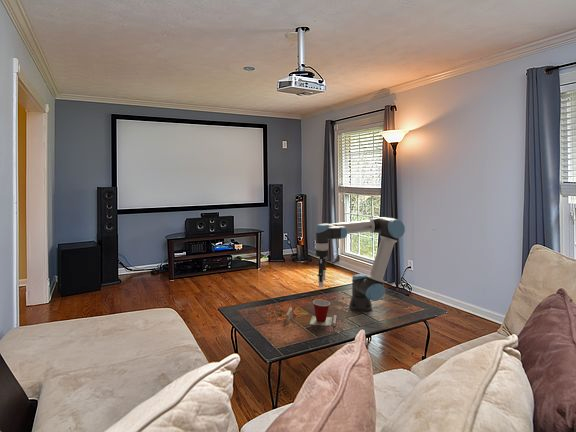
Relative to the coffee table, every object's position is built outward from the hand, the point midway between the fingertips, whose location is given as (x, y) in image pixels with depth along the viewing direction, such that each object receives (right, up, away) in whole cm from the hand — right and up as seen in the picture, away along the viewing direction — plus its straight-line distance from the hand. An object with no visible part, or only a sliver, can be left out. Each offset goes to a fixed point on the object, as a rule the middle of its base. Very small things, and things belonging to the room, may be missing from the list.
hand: (322, 283), depth 233 cm
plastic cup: (0, -24, +3) cm, 24 cm away
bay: (-6, -24, +4) cm, 25 cm away
